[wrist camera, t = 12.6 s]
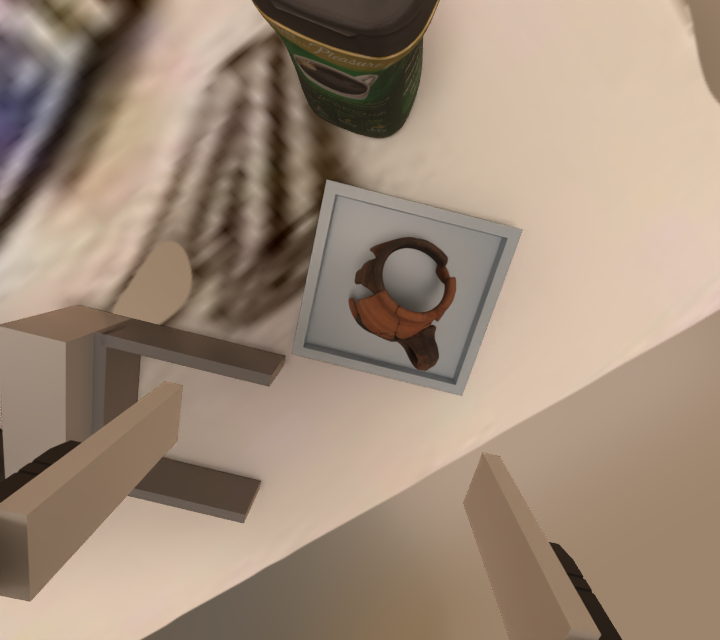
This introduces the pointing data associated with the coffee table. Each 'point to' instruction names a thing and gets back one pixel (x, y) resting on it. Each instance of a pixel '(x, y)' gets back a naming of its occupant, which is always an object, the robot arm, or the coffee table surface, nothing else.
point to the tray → (400, 284)
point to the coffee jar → (355, 57)
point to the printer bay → (114, 394)
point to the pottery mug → (394, 320)
